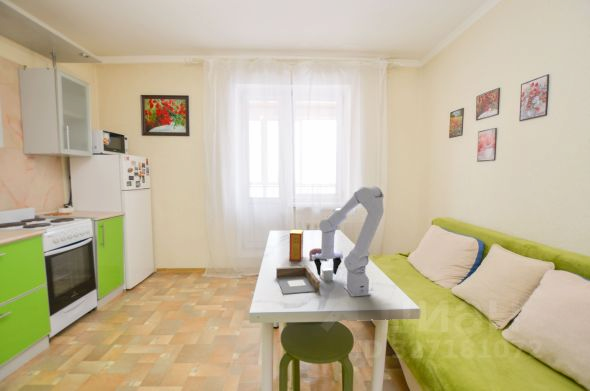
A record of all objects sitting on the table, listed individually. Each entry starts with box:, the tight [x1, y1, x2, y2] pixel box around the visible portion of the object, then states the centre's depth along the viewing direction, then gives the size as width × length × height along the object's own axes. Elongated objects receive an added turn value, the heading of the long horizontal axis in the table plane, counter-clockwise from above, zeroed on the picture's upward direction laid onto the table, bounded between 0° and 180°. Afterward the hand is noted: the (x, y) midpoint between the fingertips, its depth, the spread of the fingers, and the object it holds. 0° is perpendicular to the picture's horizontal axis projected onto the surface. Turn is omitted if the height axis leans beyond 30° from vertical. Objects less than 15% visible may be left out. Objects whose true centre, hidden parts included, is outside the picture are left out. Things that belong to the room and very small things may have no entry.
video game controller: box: [309, 247, 328, 261], centre depth 148 cm, size 10×5×7 cm, turn 92°
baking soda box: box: [288, 229, 304, 262], centre depth 148 cm, size 10×6×16 cm
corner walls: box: [275, 265, 320, 293], centre depth 113 cm, size 18×15×4 cm
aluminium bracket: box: [319, 267, 334, 282], centre depth 121 cm, size 6×4×5 cm
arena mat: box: [276, 276, 316, 295], centre depth 114 cm, size 18×15×1 cm
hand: (326, 274), depth 119 cm, fingers open, 7 cm apart
